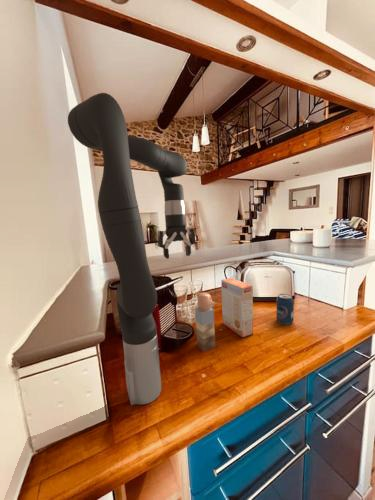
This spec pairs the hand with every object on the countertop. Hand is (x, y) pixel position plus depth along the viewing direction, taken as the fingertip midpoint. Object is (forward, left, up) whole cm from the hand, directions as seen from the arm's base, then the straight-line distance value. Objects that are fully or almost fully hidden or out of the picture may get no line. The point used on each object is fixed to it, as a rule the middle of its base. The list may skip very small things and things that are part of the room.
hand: (177, 257), depth 80 cm
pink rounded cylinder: (+6, -8, -19) cm, 22 cm away
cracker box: (+24, -4, -34) cm, 42 cm away
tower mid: (+6, -8, -29) cm, 31 cm away
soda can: (+46, -10, -34) cm, 58 cm away
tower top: (+6, -8, -24) cm, 26 cm away
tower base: (+6, -8, -34) cm, 36 cm away
